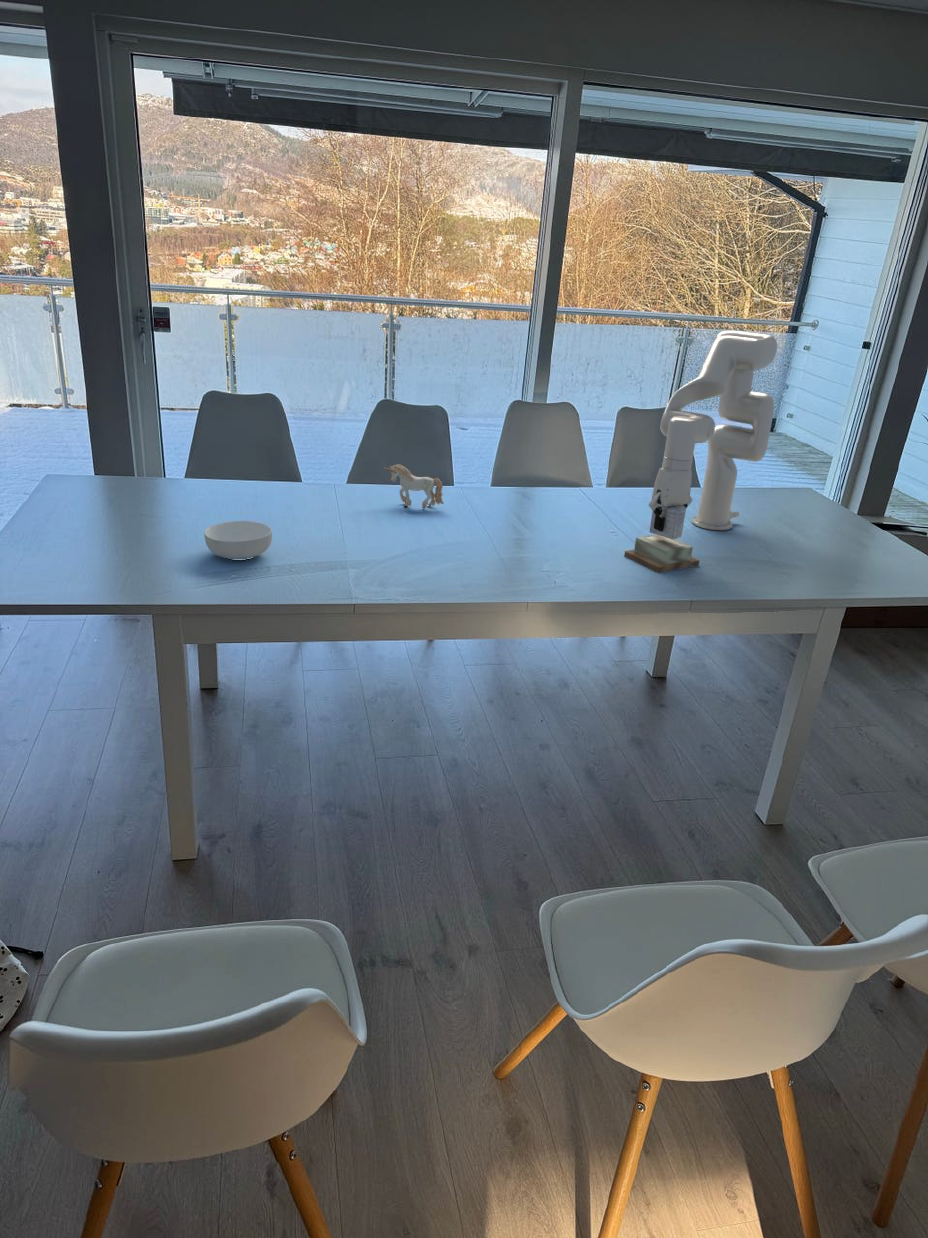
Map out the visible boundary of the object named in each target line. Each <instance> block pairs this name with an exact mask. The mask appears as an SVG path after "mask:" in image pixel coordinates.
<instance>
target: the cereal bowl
mask: <svg viewBox="0 0 928 1238" xmlns="http://www.w3.org/2000/svg"><path fill="white" fill-rule="evenodd" d="M203 534H204V540H205V544H206V547H207V548H208V549H209V551H210V552H211V553H213V554H215V555H216V556H217V557H221V558H224V559H226V558H229V559H247V558H251V557H254V556H255V557H257V556H259V555H262V554H263V553H265V552H266V551H267V550H268V549H269V547H270V546H271V544H272V541H273V540H272V539H273V530H272V528H271V527H270V526H269V525H267V524H266V523H265V524H264V523H263V522H262V523H261V522H257V521H249V520H248V521H247V520H234V521H233V520H232V521H225V522H219V523H217V524H213V525H210V526H209V527H207V528H206V529H205V530H204V533H203ZM255 557H254V558H255Z"/></svg>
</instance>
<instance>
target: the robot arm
mask: <svg viewBox="0 0 928 1238" xmlns="http://www.w3.org/2000/svg"><path fill="white" fill-rule="evenodd" d="M777 351H778V342H777V339H776V337H775V336H773V335H772V334H771V335H770V334H765V333H764V334H763V333H756V332H749V331H742V330H741V331H740V330H721V331H720V332H718V333H717V335H716V336H715V339H714V340H713V342H712V343H711V345H710V347H709V350H708V352H707V355H706V357H705V359H704V361H703V364H702V366H701V368H700V371H699V373H698V374H697V377H696V378H695V379H692V380H690V381H689V382H687V383H685V384H684V385H682V386H681V387H680V388H679V389H677V390H676V391H675V392H674V393H673V395H672V396H671V397H670V399H669V401H668V402H667V405H666V407H665V408H664V411H663V414H662V417H661V419H660V423H659V426H660V427H659V428H660V431H661V434H663V435H664V436H665V437H666V439H665V440H666V441H665V446H664V453H663V459H662V464H661V465H662V466H661V467H659V469H658V472H657V475H656V477H655V481H654V485H653V489H652V490H653V491H652V495H651V500H650V502H649V503H648V507H649V509H651V511H652V512H654V515H655V522H654V529H656V530H658V531H663V529H664V522H665V517H664V514H665V512H666V509H667V507H671V506H679V505H680V506H684V507H686V509H687V508H688V507H689V506H690V504H691V503H692V502H693V498H692V496H691V491H692V490H691V489H692V480H693V477H692V476H693V475H692V474H693V473H692V464H693V463H694V458H693V457H694V452H695V446H696V444H702V443H703V444H704V443H707V458H706V459H707V460H706V461H707V462H706V468H705V473H704V479H703V484H702V490H701V497H700V502H699V507H698V514H697V515H695V516H693V517H692V518H691V522H692V524H694V525H695V526H697V527H700V528H703V529H707V530H712V531H727V530H730V529H732V528H733V522H732V521H731V519H733V518H737V517H740V512H739V511H738V510H736V511H735V510H734V511H732V510H731V508H732V504H733V499H734V492H735V488H736V482H737V477H738V468H737V466H736V463H735V461H734V459H735V460H741V461H742V460H743V461H748V462H754V463H755V462H759V461H761V460H763V458H765V455H766V452H767V449H768V444H769V439H770V433H771V428H772V424H773V423H772V422H773V418H774V411H775V401H774V398H773V397H772V395H770V394H768V393H765V392H761V391H760V392H759V391H753V390H752V385H753V380H754V372H756V371H760V370H762V369H764V368H767V367H768V366H769V365H771V363H772V362H773V361H774V360H775V358H776V355H777ZM718 396H720V397H719V401H718V416H719V418H721V419H723V420H725V421H729V422H733V423H734V422H735V423H740V424H746V425H750V426H751V427H752V428H750V427H746V426H745V427H744V426H740V425H734V424H727V423H726V424H724V423H722V424H721V423H720V424H717V425H716V423H715V420H714V418H713V417H712V416H709V415H708V414H704V413H697V412H693V411H688V410H687V411H686V410H683V409H684V408H685V407H686V406H688V405H690V404H693V403H695V402H699V401H704V400H708V399H712V398H715V397H718ZM657 503H658V504H657ZM656 505H657V506H656ZM661 507H662V510H661V511H660V508H661Z"/></svg>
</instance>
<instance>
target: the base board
mask: <svg viewBox="0 0 928 1238" xmlns="http://www.w3.org/2000/svg"><path fill="white" fill-rule="evenodd" d="M693 549H694V547H693V546H692V545H690V544H687V543H686V542H682V541H680V540H678V539H674V540H673V539H670V538H667V537H663V536H660V535H657V534H651V535H644V536H638V537H636V538H635V543H634V549H629V550H624V557H626V558H627V559H628V560H629V559H630V560H632V561H633V562H636V563H638V564H639V565H641V566H643V567H645V568H648V569H649V570H652V571H654V572H655V573H658V574H660V573H666V572H670V571H671V570H672V571H675V570H682V568H683V569H687V568H686V567H688V568H692V567H691V566H694V567H699V566H698V565H700V559H698V558H695V557H693V556H692V552H693Z"/></svg>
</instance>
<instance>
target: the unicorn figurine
mask: <svg viewBox="0 0 928 1238" xmlns="http://www.w3.org/2000/svg"><path fill="white" fill-rule="evenodd" d="M383 469H384V470H387V471H388V472H390V474H391V478H390V480H391V481H392V482H393V483H395V482H396V481H397V477H399V479H400V480H399V482H400V483H399V485H400V487H401V489H400V490H399V496H400V500H401V501H402V503H403V502H405V504H404V503H403V507H404V506H408V507H410V506H411V507H412V499H410V493H409V491H413V492H418V491H423V492H424V493H425V495H426V498H425V499H424V500H423V501H422V503H421V507H422V508H424V509H426V507H427V505H429V506H431V505H432V506H431V507H434V506H435V505H436V504H437V505H444V504H445V502H444V501H443V499H442V498H443V497H442V496H443V483H442V481H441V480H440V479H439V478H438V477H436V478H432V477H429V476H420V477H419V476H415V475H414V474H412V472H411V471H410V470H409V469H408V468H407V467H405V466H403V465H402V464H400V463H399V464H394V465H392V466H391V465H389V468H388V467H383ZM434 488H435V491H434ZM429 501H430V502H429Z"/></svg>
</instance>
